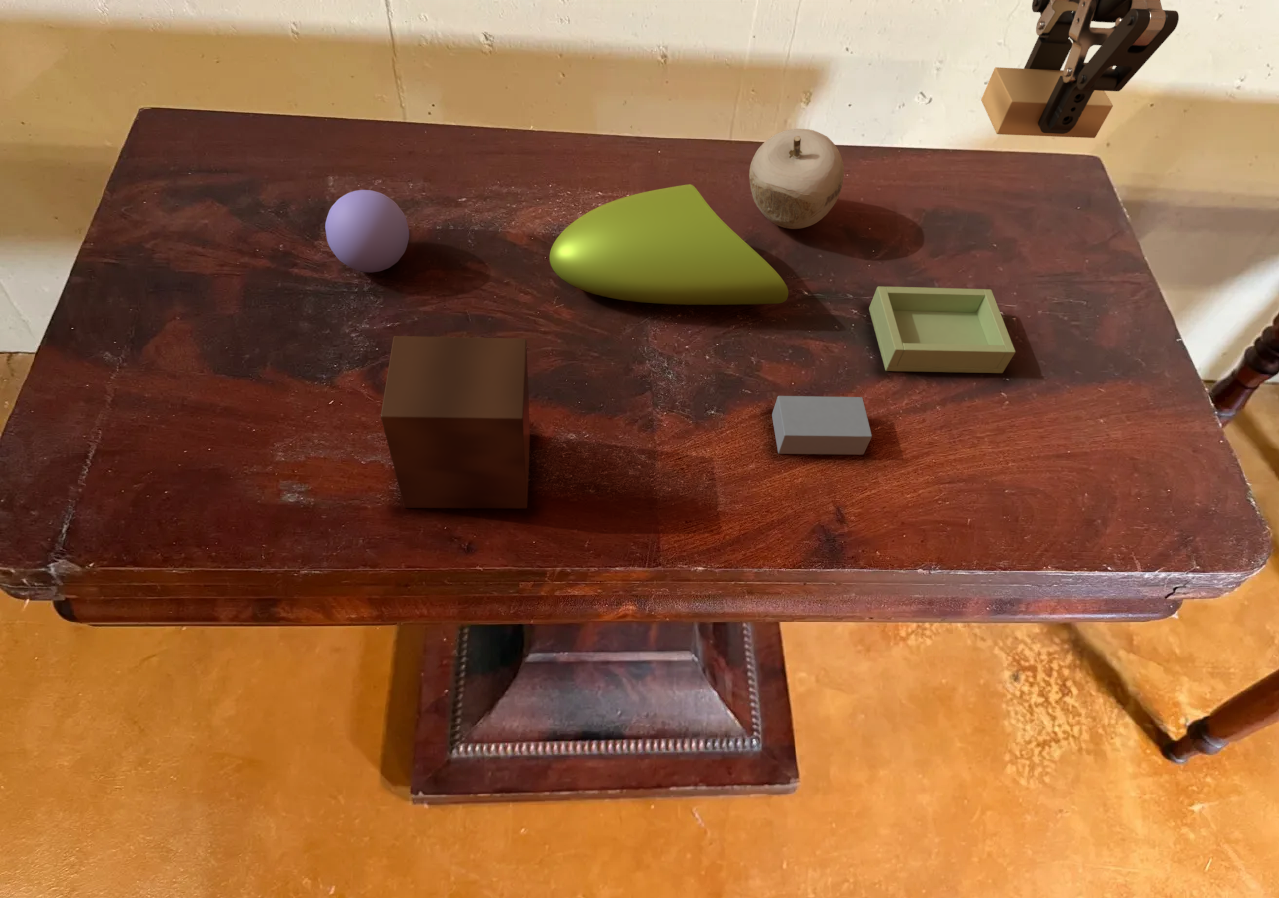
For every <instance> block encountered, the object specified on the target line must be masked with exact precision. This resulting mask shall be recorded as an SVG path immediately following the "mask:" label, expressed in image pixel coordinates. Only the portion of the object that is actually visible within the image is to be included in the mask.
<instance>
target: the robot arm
mask: <svg viewBox="0 0 1279 898" xmlns="http://www.w3.org/2000/svg"><path fill="white" fill-rule="evenodd" d="M1031 10H1032V12H1033V13H1039V14H1040V16H1039V18H1038V20H1037V22H1036V25H1035V33H1036V35H1037V36H1038V37H1037V39H1036V41H1035V43H1034V46H1033V48H1032V50H1031V52H1030V54H1029V57H1028V58H1027V61H1026V63H1025V65H1024V67H1023V69H1042V70H1062V68H1063V70H1064V71H1063V76H1060V77H1059V79H1058V81H1057V83H1056V85H1055V87H1054V90H1053V92H1052V94H1051V96H1050V98H1049V100H1048V102H1047V105H1046V107H1045V109H1044V111H1043V113H1042V115H1041V117H1040V119H1039V121H1038V126H1039V128H1040V130H1041V131H1042V132H1043V133H1054V134H1065V133H1068V132H1069V131H1071V130H1072V129H1073V127H1074V126H1075V125H1076V123H1077V121H1078V119H1079V117H1080V116H1081V114H1082V112H1083V110H1084V108H1085V106H1086V105H1087V103H1088V101H1089V99H1090V97H1091V95H1092V93H1093V92H1094V90H1097V91H1105V92H1120V91H1121V90H1123V89H1124V88H1125V86H1126V85H1128V83H1129V82H1130V81H1131V80H1132V78H1133V77H1134V76H1135V75H1136V74H1137V73H1138V72H1139V70H1140V69H1142V67H1144V65H1145V64H1146V63H1147V61H1149V59H1150V58H1152V56H1153V55H1154V54H1155V53H1156V52H1157V50H1158V49H1159V48H1160V47H1161V46H1162V45H1163V44H1164V42H1165V41H1166V40H1167V39H1168V38H1169V37H1170V36H1171V35H1172V34H1173V32H1174V31H1176V28H1177V27H1178V24H1179V19H1180V14H1179V13H1178V11H1177V10H1171V9H1163V6H1162V2H1161V0H1032V4H1031ZM1092 22H1095V23H1107V24H1110V23H1111V24H1114V26H1112V27H1093V26H1091V24H1092ZM1093 46H1099V48H1098V49H1097V50H1096V51H1095V53H1094V54H1093V55H1092V56H1091V58H1090V59H1088V61H1087V62H1085V61H1086V58H1087V55H1088V52H1089V50H1090V49H1091V47H1093ZM1064 64H1065V65H1064ZM1063 66H1064V67H1063Z"/></svg>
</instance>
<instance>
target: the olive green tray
mask: <svg viewBox="0 0 1279 898" xmlns="http://www.w3.org/2000/svg"><path fill="white" fill-rule="evenodd" d="M868 311H869V314H870V318H871V322H872V326H873V329H874V333H875V337H876V341H877V344H878V348H879V351H880V355H881V359H882V363H883V366H884V370H885V372H915V373H916V372H917V373H918V372H919V373H920V372H922V373H923V372H924V373H968V374H969V373H971V374H973V373H975V374H978V373H979V374H1003V373H1004V371H1005V370H1006V368H1007V367H1008V365H1009V363H1010V361H1011V360H1012V359H1013V357H1014V356H1015V354H1016V349H1015V347H1014V344H1013V341H1012V339H1011V336H1010V334H1009V332H1008V329H1007V326H1006V323H1005V321H1004V318H1003V316H1002V314H1001V311H1000V308H999V306H998V303H997V301H996V298H995V295H994V292H993V290H992V289H991V288H990V289H988V288H955V287H954V288H951V287H950V288H949V287H919V286H918V287H917V286H916V287H915V286H879V285H878V286H877V287H876V289H875V291H874V295H873V297H872V300H871V302H870V305H869V307H868Z"/></svg>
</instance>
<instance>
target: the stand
mask: <svg viewBox="0 0 1279 898" xmlns="http://www.w3.org/2000/svg"><path fill="white" fill-rule="evenodd" d="M392 337H393V338H392V344H391V351H390V357H389V362H388V369H387V375H386V380H385V385H384V386H385V387H384V393H383V399H382V405H381V411H380V419H381V424H382V427H383V431H384V434H385V435H384V436H385V439H386V442H387V443H386V444H387V447H388V450H389V454H390V458H391V462H392V466H393V471H394V473H395V477H396V481H397V486H398V489H399V492H400V496H401V501H402V505H403V508H404V509H524V510H525V509H528V499H529V472H530V448H531V447H530V446H531V445H530V444H531V443H530V442H531V423H530V421H531V420H530V398H529V397H530V395H529V373H528V372H529V369H528V349H527V346H528V345H527V338H505V337H504V338H502V337H460V336H459V337H458V336H457V337H456V336H415V335H414V336H412V335H411V336H410V335H409V336H407V335H394V336H392Z"/></svg>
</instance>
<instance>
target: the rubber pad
mask: <svg viewBox="0 0 1279 898" xmlns="http://www.w3.org/2000/svg"><path fill="white" fill-rule="evenodd" d="M771 417H772V423H773V430H774V431H773V432H774V435H775V436H774V437H775V442H776V443H775V444H776V447H777V449H776V450H777V454H779V455H850V456H851V455H855V456H856V455H859V456H861V455H862V456H863V455H864V454H865V452H866V450H867V448H868V446H869V443H870V441H871V440H872V437H873V435H872V431H871V427H870V422H869V419H868V414H867V410H866V407H865V402H864V398H863V397H862V396H821V395H820V396H818V395H817V396H816V395H815V396H814V395H813V396H811V395H810V396H809V395H808V396H807V395H778V396H777V397H776V401H775V403H774V407H773V409H772V413H771Z"/></svg>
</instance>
